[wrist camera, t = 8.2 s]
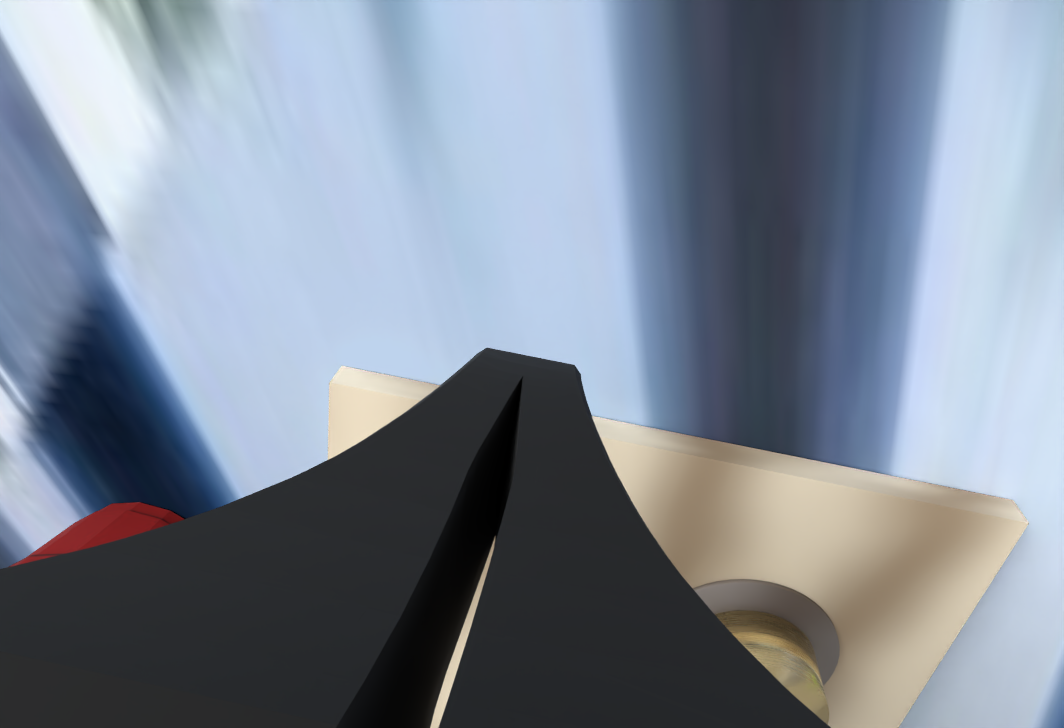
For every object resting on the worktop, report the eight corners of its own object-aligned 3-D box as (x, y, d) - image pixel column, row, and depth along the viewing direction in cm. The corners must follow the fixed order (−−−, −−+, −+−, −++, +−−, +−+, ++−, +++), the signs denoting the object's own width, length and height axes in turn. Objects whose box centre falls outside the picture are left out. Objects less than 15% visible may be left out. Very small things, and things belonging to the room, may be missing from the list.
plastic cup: (-32, 422, 25) (-512, 750, 15) (272, 456, 24) (-11, 834, 14) (55, 643, 30) (-253, 1001, 20) (308, 678, 29) (123, 1075, 19)
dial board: (1013, 500, 21) (1032, 527, 20) (782, 876, 32) (787, 908, 30) (341, 365, 22) (326, 385, 21) (329, 776, 32) (319, 803, 31)
